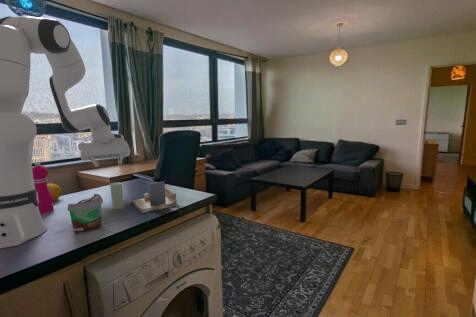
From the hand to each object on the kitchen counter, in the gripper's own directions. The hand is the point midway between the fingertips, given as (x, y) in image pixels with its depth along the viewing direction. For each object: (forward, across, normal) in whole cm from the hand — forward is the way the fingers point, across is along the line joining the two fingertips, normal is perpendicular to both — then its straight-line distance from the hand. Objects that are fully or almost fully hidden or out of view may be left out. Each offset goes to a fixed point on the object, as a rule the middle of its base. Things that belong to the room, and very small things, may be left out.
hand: (108, 164), depth 119 cm
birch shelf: (+25, +13, -2) cm, 28 cm away
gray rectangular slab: (+27, +13, -7) cm, 31 cm away
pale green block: (+20, 0, +2) cm, 21 cm away
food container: (+33, -11, -10) cm, 36 cm away
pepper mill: (+12, -25, +11) cm, 30 cm away
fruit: (+1, -23, +22) cm, 32 cm away
